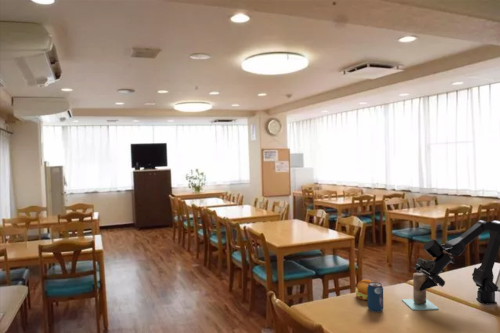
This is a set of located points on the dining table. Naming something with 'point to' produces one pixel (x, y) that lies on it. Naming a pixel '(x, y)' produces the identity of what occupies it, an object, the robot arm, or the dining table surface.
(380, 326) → the dining table surface
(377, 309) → the soda can
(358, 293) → the cheeseburger
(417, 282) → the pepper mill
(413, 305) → the board
